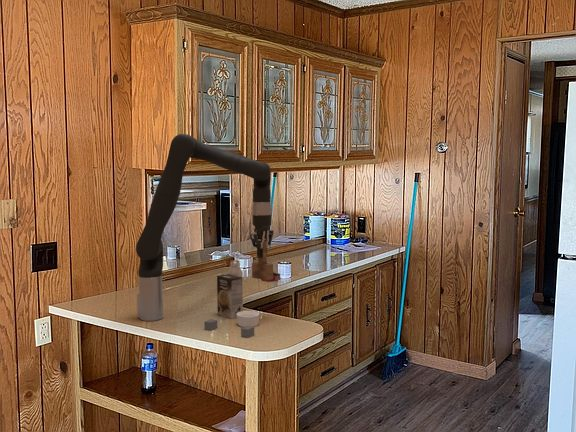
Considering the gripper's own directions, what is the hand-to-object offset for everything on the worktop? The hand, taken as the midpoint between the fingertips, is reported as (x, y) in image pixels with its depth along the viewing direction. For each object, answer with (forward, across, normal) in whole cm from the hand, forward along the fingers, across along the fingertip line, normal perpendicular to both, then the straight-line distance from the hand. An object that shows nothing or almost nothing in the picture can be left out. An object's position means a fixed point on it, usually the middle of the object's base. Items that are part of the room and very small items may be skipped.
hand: (262, 256), depth 246 cm
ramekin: (+25, +10, 0) cm, 27 cm away
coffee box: (+25, +3, -14) cm, 29 cm away
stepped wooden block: (+9, 0, 0) cm, 9 cm away
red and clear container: (+25, -63, -38) cm, 78 cm away
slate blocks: (+25, +22, 0) cm, 33 cm away
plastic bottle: (+25, -8, -19) cm, 33 cm away
